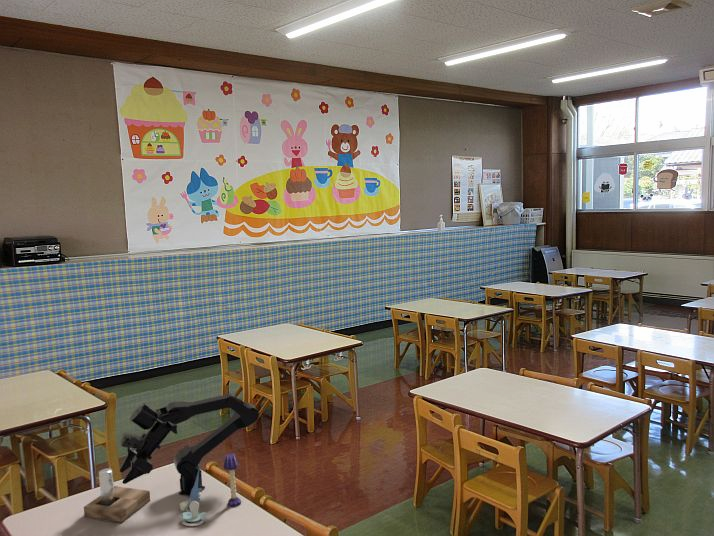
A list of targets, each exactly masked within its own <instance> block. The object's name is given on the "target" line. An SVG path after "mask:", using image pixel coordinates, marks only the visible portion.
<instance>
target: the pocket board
mask: <svg viewBox="0 0 714 536" xmlns="http://www.w3.org/2000/svg"><path fill="white" fill-rule="evenodd" d="M114 495H115V502H114V503H113V504H112V505H110V506H103V505H102V504H101V494H100V495H99V496H98V497H96V498H95V499H93V500H91V501H90V502H89V503H87V504H86V505H84V506H83V513H84V514H83V515H84V519H85V518H86V519H92V520H98V521H103V522H104V521H105V522H112V523H117V524H123V523H124V522H126V521H128V519H130V518H131V517H132V516H133V515H135V514H136V513H137V512H138V511H140V510H141V509H143V507H144V506H146V505H147V504H148V503H150V502H151V492H150V490H144V489H139V488H130V487H124V486H123V487H122V486H118V485H117V486H116V485H114Z"/></svg>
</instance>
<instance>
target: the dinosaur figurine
mask: <svg viewBox="0 0 714 536" xmlns="http://www.w3.org/2000/svg"><path fill="white" fill-rule="evenodd" d="M201 465H202V464H201V463H199V469H201ZM198 479H199V470H198V474H197V477H196V480H195V484H194V487H193V488H192V490H191V493H190V496H189V499H188V500H186V501H181V503H179V507H180V510H181V511H184V512H188V509H189V505H190V503H191V502H192V501H201V498H200V497H201V495H202V492H203V490H202V488H198ZM200 491H201V492H200Z"/></svg>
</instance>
